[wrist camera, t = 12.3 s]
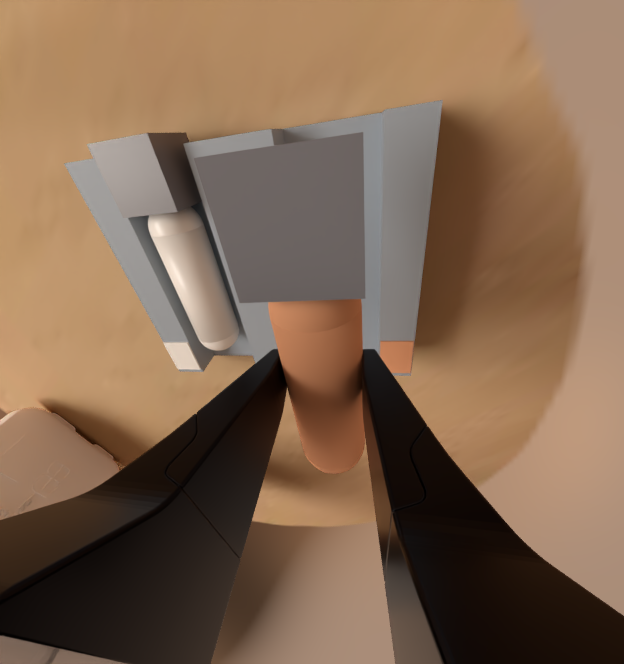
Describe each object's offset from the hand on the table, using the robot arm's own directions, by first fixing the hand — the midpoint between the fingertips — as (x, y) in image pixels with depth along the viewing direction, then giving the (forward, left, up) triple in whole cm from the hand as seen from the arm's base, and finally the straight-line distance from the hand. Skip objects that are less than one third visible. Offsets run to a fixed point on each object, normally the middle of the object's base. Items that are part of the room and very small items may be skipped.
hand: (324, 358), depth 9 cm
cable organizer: (-22, +38, -9) cm, 45 cm away
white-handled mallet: (+1, +8, -8) cm, 11 cm away
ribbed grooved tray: (0, +4, -8) cm, 9 cm away
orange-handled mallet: (0, 0, -1) cm, 1 cm away
